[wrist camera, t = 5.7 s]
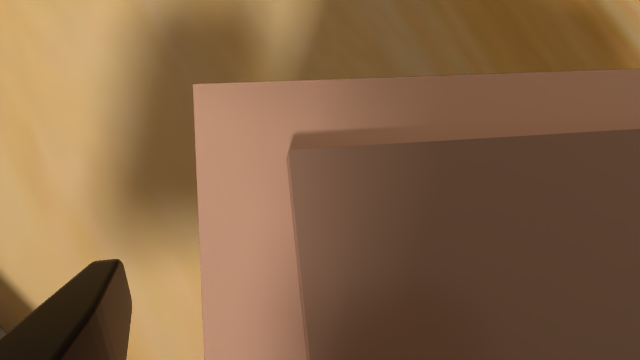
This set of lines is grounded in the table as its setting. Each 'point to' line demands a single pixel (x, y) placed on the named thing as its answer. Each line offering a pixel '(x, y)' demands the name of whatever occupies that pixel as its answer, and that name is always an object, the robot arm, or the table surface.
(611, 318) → the tall pink block
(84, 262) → the table surface
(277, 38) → the table surface
